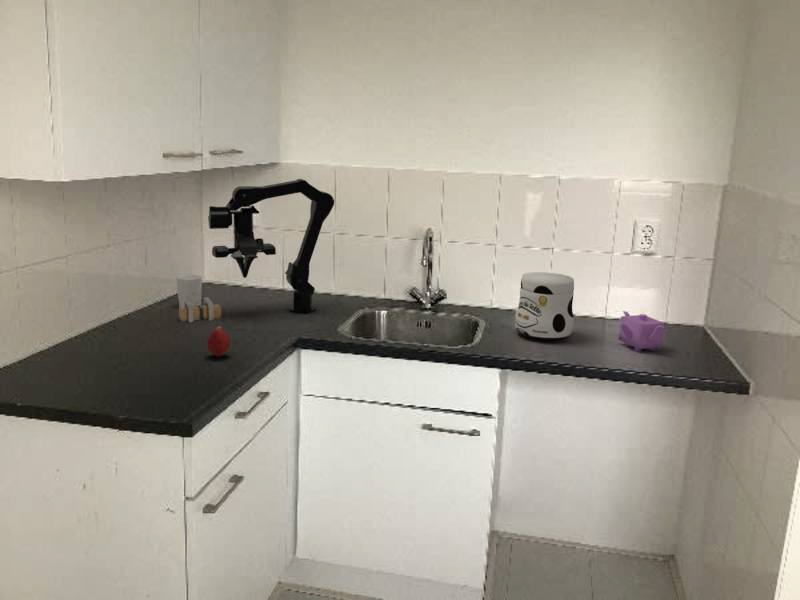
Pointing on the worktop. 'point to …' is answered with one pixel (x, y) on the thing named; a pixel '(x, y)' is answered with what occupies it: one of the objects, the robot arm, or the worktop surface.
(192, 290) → the white cup
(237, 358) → the worktop surface
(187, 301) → the gray bracket rail
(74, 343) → the worktop surface
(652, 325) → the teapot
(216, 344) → the onion
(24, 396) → the worktop surface
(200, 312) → the taped cardboard box
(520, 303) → the milk container
